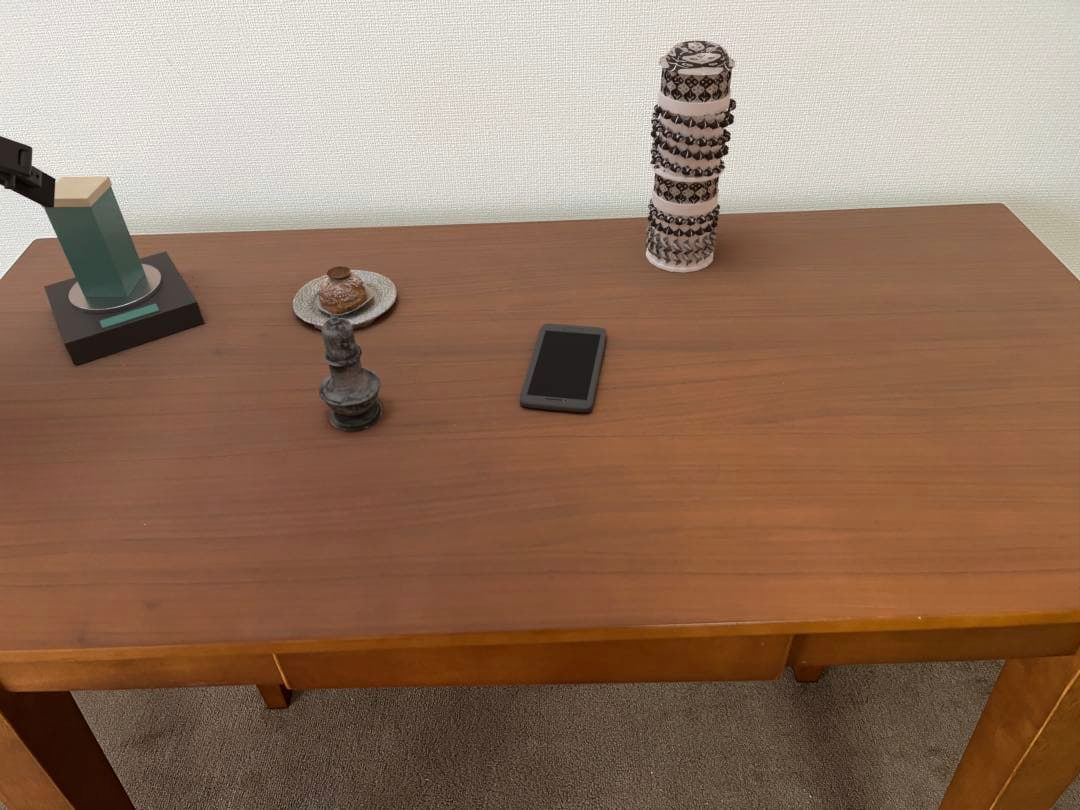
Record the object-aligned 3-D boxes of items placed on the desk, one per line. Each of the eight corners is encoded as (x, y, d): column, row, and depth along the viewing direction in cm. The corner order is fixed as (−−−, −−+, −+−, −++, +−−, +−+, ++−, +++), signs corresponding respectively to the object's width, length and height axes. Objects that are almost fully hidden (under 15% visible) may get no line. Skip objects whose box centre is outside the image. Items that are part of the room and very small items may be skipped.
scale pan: (79, 324, 89) (76, 319, 89) (63, 284, 96) (61, 280, 96) (172, 295, 93) (170, 290, 93) (151, 258, 100) (149, 254, 100)
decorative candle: (722, 273, 99) (751, 60, 83) (646, 275, 100) (660, 62, 83) (711, 236, 106) (735, 33, 90) (639, 238, 107) (651, 35, 90)
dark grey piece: (333, 440, 78) (306, 338, 71) (320, 404, 82) (294, 304, 75) (393, 423, 80) (373, 321, 72) (377, 388, 84) (357, 289, 76)
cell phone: (607, 332, 90) (607, 327, 90) (591, 414, 80) (591, 408, 79) (542, 327, 91) (541, 321, 91) (517, 407, 81) (517, 401, 81)
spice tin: (128, 297, 92) (87, 198, 84) (83, 297, 92) (37, 198, 85) (146, 273, 96) (108, 176, 88) (103, 273, 96) (61, 176, 89)
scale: (75, 366, 89) (63, 342, 87) (54, 307, 98) (43, 284, 96) (204, 323, 94) (196, 299, 92) (173, 271, 103) (165, 249, 101)
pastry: (276, 303, 97) (267, 270, 94) (363, 267, 103) (357, 234, 100) (327, 347, 90) (318, 312, 87) (417, 305, 96) (412, 271, 93)
